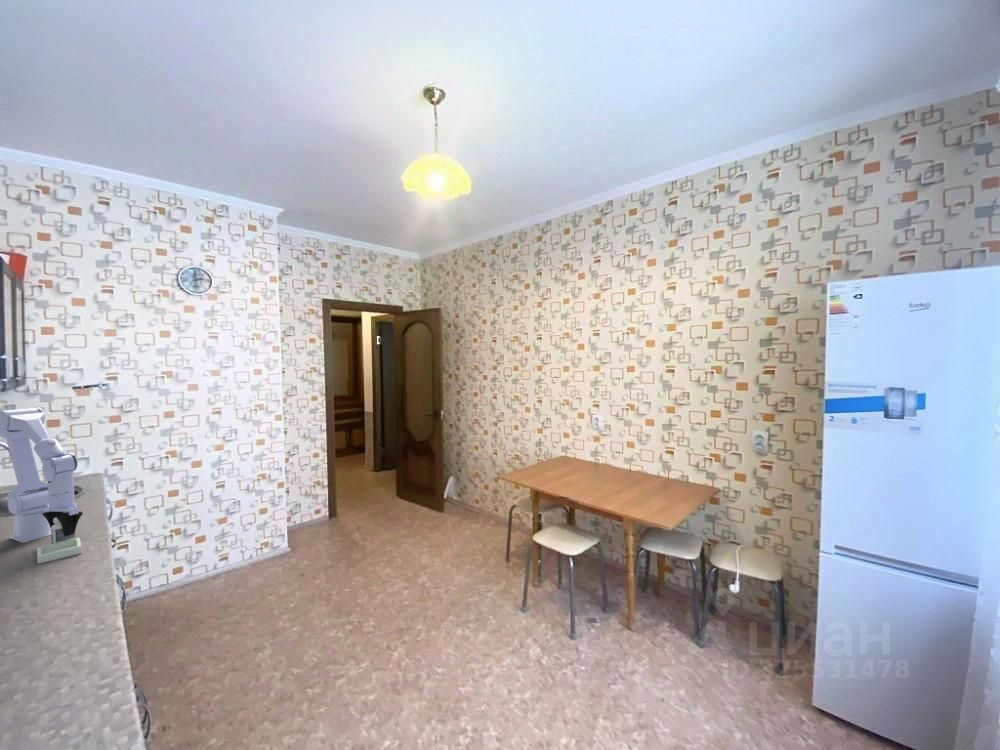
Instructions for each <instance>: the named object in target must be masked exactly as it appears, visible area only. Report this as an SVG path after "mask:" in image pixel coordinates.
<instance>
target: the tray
mask: <svg viewBox="0 0 1000 750" xmlns="http://www.w3.org/2000/svg"><path fill="white" fill-rule="evenodd" d="M36 553H37V554H36V555H37V556H36V558H37V561H36V562H37V564H41V563H47V562H50V561H55V560H59V559H63V558H68V557H71V556H75V555H79V554H82V553H83V552H82V542H81V538H80V537H77V538H76V537H75V539H71V540H67V541H63V542H58V543H54V544H52V543H51V544H47V545H46V544H45V545H43V546H38V547H37V552H36Z"/></svg>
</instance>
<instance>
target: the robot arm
mask: <svg viewBox="0 0 1000 750" xmlns="http://www.w3.org/2000/svg"><path fill="white" fill-rule="evenodd" d="M45 421H46V413H45V411H44V409H42V408H41V407H38V406H36V407H31V408H18V409H8V410H3V409H2V410H0V438H4V439H6V444H7V447H8V451H9V455H10V458H11V462H12V466H13V470H14V474H15V475H14V476H15V478H16V483H17V486H15V487H14V488H13V489H11V490H10V491H9V492H8V493H7V508H8V511H9V513H10V514H12V515H14V517H13V521H12V523H13V524H12V525H13V536H10V537H9V539H12V540H14V541H17V542H20V543H28V542H31V540H32V541H35V540H39V539H42V538H46V537H48V536H51V527H52V526H53V525H54V524H55V523H54V522H53V519H54V518H55V517H56V518H57V519H58V520H59V522H60V523H61V526H62V529H63V533H64V536H69V535H72V534H74V533H75V534H76V530H77V529H76V528H77V526H78V522H79V520H80V518H81V517H82V516H83V511H79V507H77V503H76V502H75V501H76V499H75V481H74V479H75V478H74V471H76V470H77V468H78V459H77V457H76V455H75V454H74V453H70V452H69V451H66V450H65V449H64V447H63V446H62V444H61V443H60V441H58V439H55V438H51V436H50V434H49V433H48V431H47V429H46V427H45V425H44V424H45ZM31 441H32V442H33V443H34V444H35V445H34V446H33V447H32V444H31ZM34 452H35V453H36V455H37V456H38V458H39V459H40V460H41V462H42V466H41V469H42V472H43V474H44V479H45V481H44V480H42V479H40V475H39V471H38V467H37V464H36V459H35V456H34Z"/></svg>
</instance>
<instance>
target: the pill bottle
mask: <svg viewBox="0 0 1000 750" xmlns="http://www.w3.org/2000/svg"><path fill="white" fill-rule="evenodd" d="M53 522H54V523H55V524H54V525H53V526H52V527H51V528H50V530H51V535H50V536H51V544H54V543H58V542H63V541H67V540H71V539H76V532H75V533H74V534H72V535H69V536H64V533H63V529H62V526H61V523H60V522H59V520H58V519H57V518H56V517H55V518H54V519H53Z"/></svg>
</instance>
